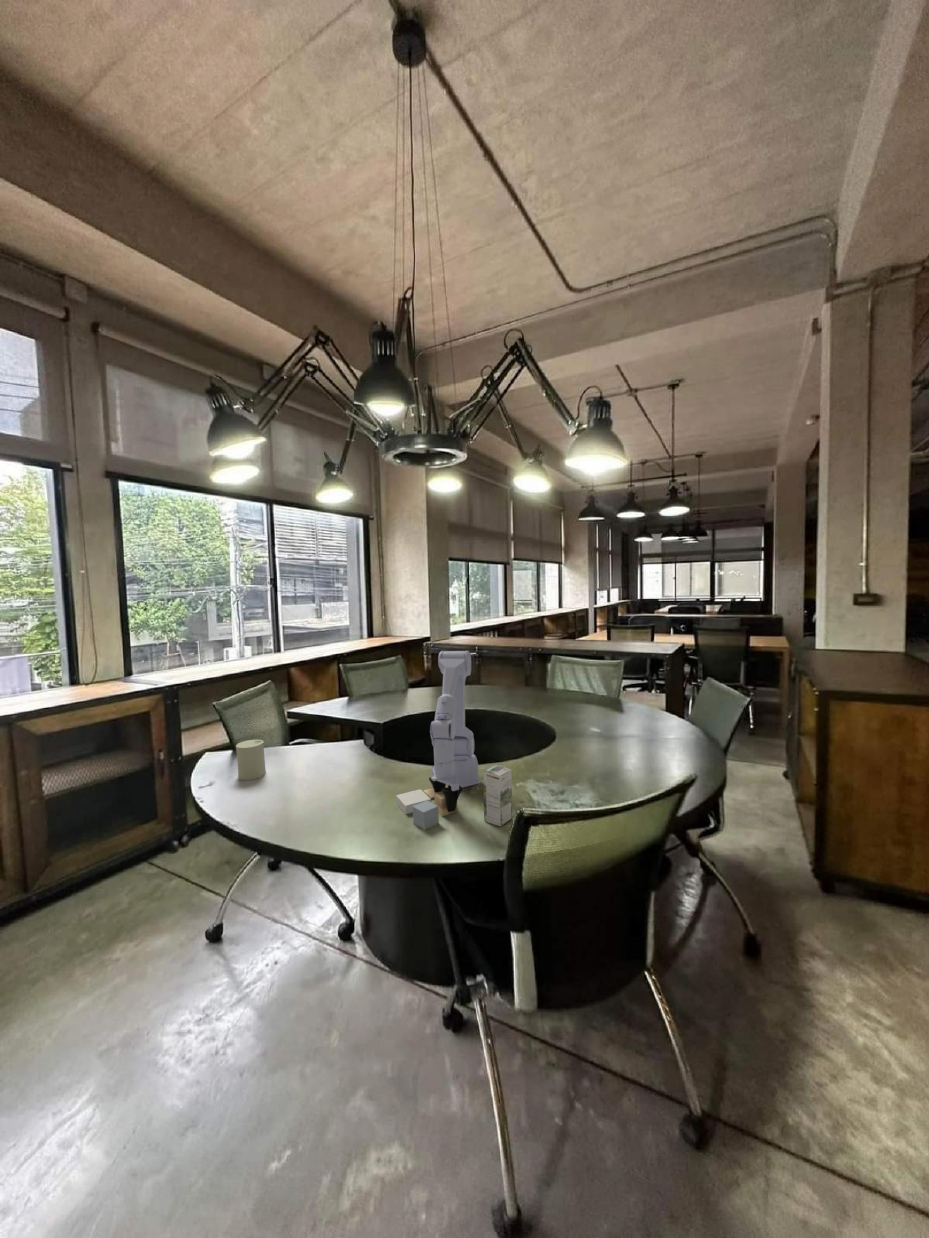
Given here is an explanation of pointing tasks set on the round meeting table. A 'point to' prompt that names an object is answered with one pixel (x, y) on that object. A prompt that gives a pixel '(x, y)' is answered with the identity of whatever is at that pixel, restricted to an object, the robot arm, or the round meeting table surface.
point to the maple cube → (442, 804)
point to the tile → (429, 793)
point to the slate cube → (425, 815)
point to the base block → (411, 800)
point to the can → (250, 759)
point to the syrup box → (497, 795)
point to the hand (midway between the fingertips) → (445, 805)
